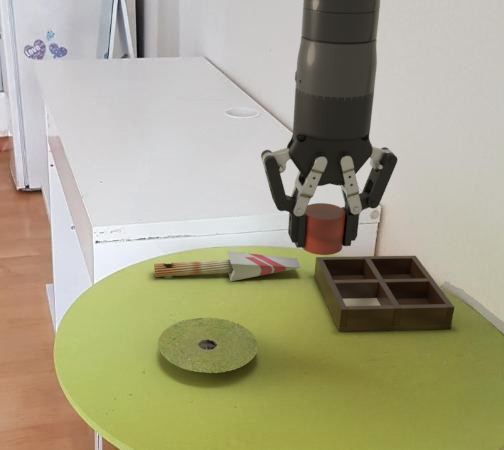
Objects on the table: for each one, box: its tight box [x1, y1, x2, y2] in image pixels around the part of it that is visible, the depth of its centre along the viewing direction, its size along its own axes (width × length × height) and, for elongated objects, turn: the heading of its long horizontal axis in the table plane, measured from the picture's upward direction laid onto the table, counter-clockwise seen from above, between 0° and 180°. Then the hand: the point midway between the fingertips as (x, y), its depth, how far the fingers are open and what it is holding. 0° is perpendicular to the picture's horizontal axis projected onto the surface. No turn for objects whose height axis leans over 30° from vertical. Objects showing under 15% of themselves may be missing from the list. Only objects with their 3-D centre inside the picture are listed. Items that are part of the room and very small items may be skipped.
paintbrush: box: [153, 250, 302, 282], centre depth 103 cm, size 4×3×20 cm
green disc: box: [157, 317, 259, 374], centre depth 85 cm, size 11×11×2 cm
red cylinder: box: [302, 202, 346, 256], centre depth 79 cm, size 4×4×4 cm
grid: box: [313, 255, 455, 332], centre depth 97 cm, size 14×14×3 cm
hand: (322, 243), depth 80 cm, fingers closed on red cylinder, 4 cm apart
